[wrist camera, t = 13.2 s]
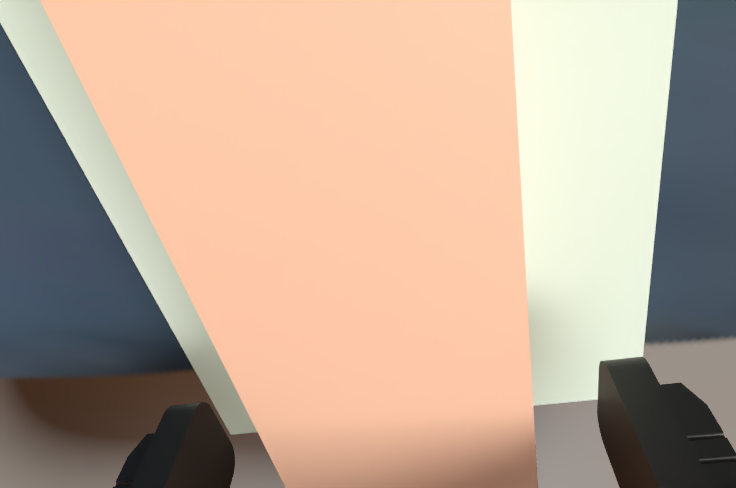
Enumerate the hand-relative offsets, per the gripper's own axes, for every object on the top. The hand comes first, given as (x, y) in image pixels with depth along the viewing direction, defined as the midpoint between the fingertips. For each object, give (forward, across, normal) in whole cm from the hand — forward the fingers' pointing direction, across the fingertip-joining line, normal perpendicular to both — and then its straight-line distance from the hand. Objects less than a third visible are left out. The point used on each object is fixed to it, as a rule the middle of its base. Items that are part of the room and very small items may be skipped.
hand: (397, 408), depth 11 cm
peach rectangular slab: (+3, 0, -4) cm, 5 cm away
